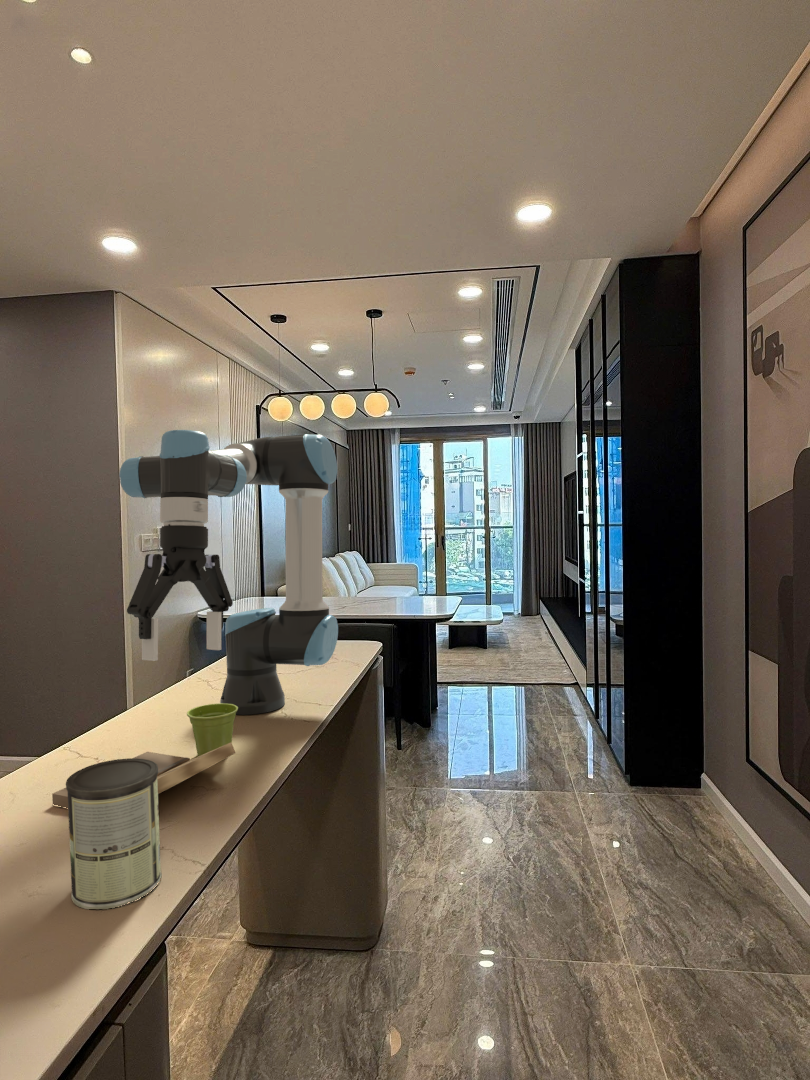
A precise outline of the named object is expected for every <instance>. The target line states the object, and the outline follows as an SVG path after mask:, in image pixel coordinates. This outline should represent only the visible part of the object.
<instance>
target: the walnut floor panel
mask: <svg viewBox="0 0 810 1080" xmlns="http://www.w3.org/2000/svg"><path fill="white" fill-rule="evenodd" d="M133 758H134V759H145V760H150V761H153V762H155V763H156V764H157V765H158V775H157V776H159V775H161V774H163V773H165V772H167V771H169V770H171V769H173V768H175V767H177V766H179V765H181V764H183V763H185V762H187V761H189V760H191V759H190V757H183V756H177V755H171V754H164V753H159V752H158V753H157V752H151V751H146V752H143V753H141V754H139V755H137V756H134V757H132V759H133ZM51 795H52V800H51V801H52V805H53V804H54V805H58V806H61V807H66V808H68V791H67V789H66V787H64V788H62V789H59V790H57V791H55V792H53V793H52V794H51Z"/></svg>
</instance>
